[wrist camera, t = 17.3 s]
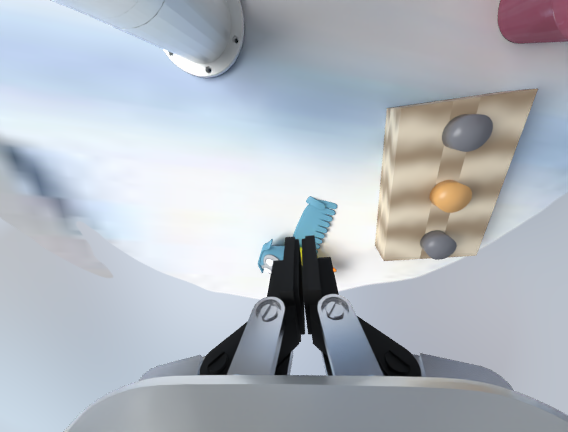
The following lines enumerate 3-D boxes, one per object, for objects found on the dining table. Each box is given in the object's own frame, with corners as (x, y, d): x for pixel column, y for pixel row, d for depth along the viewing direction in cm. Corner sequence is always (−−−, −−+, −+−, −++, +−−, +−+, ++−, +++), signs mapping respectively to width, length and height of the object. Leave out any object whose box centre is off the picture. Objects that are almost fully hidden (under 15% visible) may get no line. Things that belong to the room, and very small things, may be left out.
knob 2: (431, 115, 30) (458, 117, 25) (463, 111, 30) (498, 111, 24) (425, 146, 32) (449, 153, 27) (456, 143, 32) (486, 149, 26)
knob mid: (420, 175, 34) (442, 186, 29) (449, 172, 34) (476, 183, 28) (416, 199, 36) (435, 214, 31) (443, 196, 36) (467, 211, 30)
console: (386, 108, 31) (401, 108, 27) (502, 91, 30) (538, 88, 25) (375, 245, 43) (383, 261, 39) (457, 239, 41) (476, 255, 37)
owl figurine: (308, 332, 45) (242, 315, 44) (307, 300, 53) (251, 285, 52) (366, 231, 32) (274, 203, 32) (354, 207, 40) (280, 185, 39)
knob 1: (412, 221, 38) (430, 239, 33) (437, 219, 38) (459, 237, 33) (409, 241, 40) (425, 260, 35) (433, 239, 40) (453, 258, 35)
